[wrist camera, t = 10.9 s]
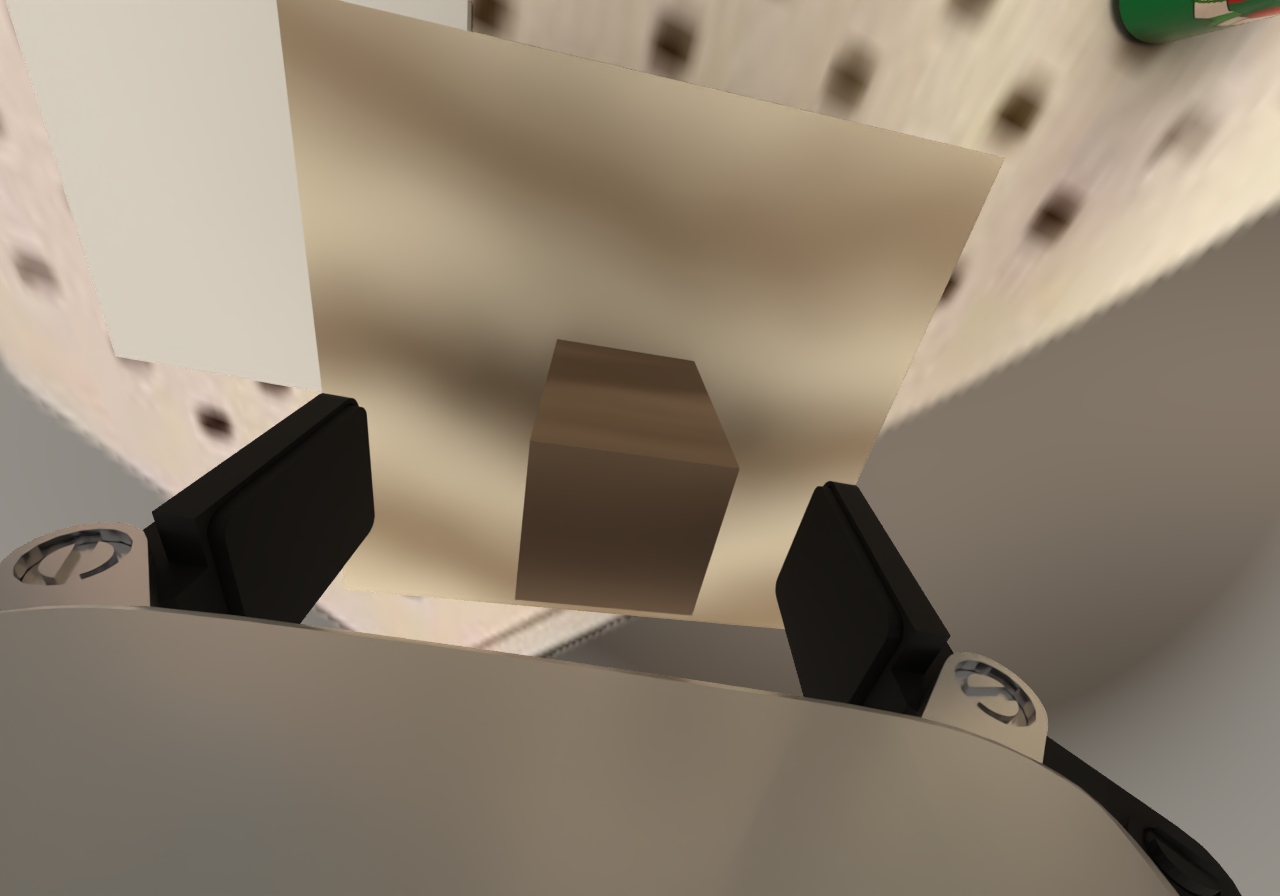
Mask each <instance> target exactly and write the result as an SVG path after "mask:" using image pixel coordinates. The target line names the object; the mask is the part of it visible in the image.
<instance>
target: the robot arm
mask: <svg viewBox="0 0 1280 896" xmlns="http://www.w3.org/2000/svg"><path fill="white" fill-rule="evenodd" d="M152 514H153V517H154V520H155V522H153V523H152V524H151V525H149V526H148V527H147V528H145V529H144V530H140V529H138V528H137V527H136V526H133V525H128V524H124V523H120V522H97V523H91V524H82V525H77V526H73V527H69V528H65V529H61V530H57V531H54V532H52V533H49V534H46V535H44V536H41V537H38V538H36V539H34V540H32V541H30V542H28V543H27V544H24V545H23V546H21V547H19V548H17V549H15V550H14V551H13V552H12V553H11V554H9V555H8V556H7V557H6V558H5V559H3V560H2V561H1V563H0V896H1241V894H1240V893H1239V891H1238V889H1237V887H1236V885H1235V884H1234V882H1233V881H1232V879H1231V878H1230V877H1229V876H1228V874H1227V873H1226V872H1225V871H1224V870H1223V868H1222V867H1221V866H1220V864H1219V863H1218V862H1217V861H1216V860H1215V859H1214V858H1213V857H1212V856H1211V855H1210V853H1208V851H1207V850H1206V849H1205V848H1203V846H1201V845H1200V844H1199V843H1198V842H1197V841H1195V840H1194V839H1193V838H1191V837H1190V836H1189V835H1188V834H1186V833H1185V832H1184V831H1182V830H1181V829H1180V828H1178V827H1177V826H1176V825H1174V824H1173V823H1172V822H1170V821H1169V820H1167V819H1166V818H1164V817H1163V816H1161V815H1160V814H1159V813H1157V812H1156V811H1154V810H1153V809H1151V808H1150V807H1148V806H1147V805H1146V804H1144V803H1143V802H1141V801H1140V800H1138V799H1137V798H1135V797H1134V796H1133V795H1131V794H1130V793H1128V792H1127V791H1125V790H1124V789H1122V788H1121V787H1120V786H1118V785H1117V784H1115V783H1114V782H1112V781H1111V780H1110V779H1108V778H1107V777H1105V776H1104V775H1102V774H1101V773H1099V772H1098V771H1097V770H1095V769H1094V768H1092V767H1091V766H1089V765H1088V764H1086V763H1085V762H1083V761H1082V760H1081V759H1079V758H1078V757H1076V756H1075V755H1073V754H1072V753H1071V752H1069V751H1068V750H1066V749H1065V748H1063V747H1062V746H1060V745H1059V744H1057V743H1056V742H1055V741H1053V740H1052V739H1050V738H1049V737H1048V736H1046V735H1047V729H1048V722H1047V714H1046V712H1045V710H1044V708H1043V705H1042V703H1041V702H1040V700H1039V699H1038V698H1037V696H1036V695H1035V694H1034V692H1032V690H1031V689H1030V688H1029V687H1028V686H1027V685H1026V684H1025V683H1024V682H1023V681H1022V680H1021V679H1020V678H1019V677H1018V676H1016V675H1015V674H1013V673H1012V672H1011V671H1009V670H1008V669H1006V668H1005V667H1004V666H1002V665H1000V664H998V663H996V662H994V661H992V660H990V659H988V658H986V657H983V656H980V655H977V654H974V653H964V652H959V653H956V654H954V653H953V652H952V650H951V648H950V647H949V645H948V644H947V640H948V639H949V637H950V634H949V633H948V631H947V629H946V628H945V626H944V625H943V623H942V621H941V620H940V618H939V616H938V615H937V613H936V612H935V610H934V608H933V607H932V605H931V604H930V602H929V601H928V599H927V597H926V596H925V594H924V592H923V591H922V589H921V587H920V586H919V584H918V583H917V581H916V580H915V578H914V576H913V575H912V573H911V571H910V570H909V568H908V567H907V565H906V564H905V562H904V560H903V559H902V557H901V555H900V554H899V552H898V551H897V549H896V547H895V546H894V544H893V543H892V541H891V539H890V538H889V536H888V535H887V533H886V531H885V530H884V528H883V526H882V525H881V523H880V522H879V520H878V518H877V517H876V515H875V514H874V512H873V510H872V509H871V507H870V506H869V504H868V502H867V501H866V499H865V498H864V496H863V494H862V493H861V491H860V489H859V488H858V487H857V486H856V485H851V484H845V483H839V482H833V481H828V482H826V483H825V484H824V486H817V487H816V488H815V490H814V492H813V494H812V496H811V499H810V501H809V504H808V506H807V508H806V511H805V513H804V516H803V518H802V520H801V523H800V525H799V527H798V530H797V532H796V535H795V537H794V539H793V542H792V544H791V547H790V549H789V551H788V554H787V556H786V559H785V561H784V563H783V566H782V568H781V571H780V573H779V575H778V578H777V581H776V586H775V594H776V599H777V602H778V606H779V610H780V613H781V617H782V620H783V624H784V628H785V631H786V634H787V638H788V642H789V645H790V649H791V653H792V656H793V660H794V663H795V667H796V671H797V674H798V678H799V681H800V685H801V689H802V692H803V696H804V697H801V696H795V695H789V694H783V693H776V692H770V691H762V690H756V689H750V688H743V687H736V686H729V685H723V684H715V683H710V682H703V681H696V680H690V679H683V678H676V677H669V676H663V675H656V674H650V673H643V672H636V671H629V670H622V669H615V668H608V667H602V666H595V665H588V664H581V663H574V662H567V661H560V660H553V659H546V658H539V657H533V656H526V655H519V654H512V653H505V652H498V651H491V650H484V649H477V648H470V647H463V646H455V645H448V644H441V643H434V642H426V641H419V640H412V639H405V638H398V637H390V636H383V635H376V634H369V633H361V632H354V631H347V630H340V629H333V628H325V627H318V626H311V625H303V624H300V623H301V622H302V620H303V619H304V618H305V617H306V615H307V614H308V613H309V611H310V610H311V609H312V607H313V606H314V605H315V603H316V602H317V601H318V600H319V598H320V597H321V596H322V594H323V593H324V592H325V590H326V589H327V588H328V586H329V585H330V584H331V583H332V581H333V580H334V579H335V577H336V576H337V575H338V573H339V572H340V571H341V569H342V568H343V567H344V566H345V564H346V563H347V562H348V560H349V559H350V558H351V556H352V555H353V554H354V552H355V551H356V550H357V549H358V547H359V546H360V545H361V543H362V542H363V541H364V539H365V538H366V537H367V535H368V534H369V533H370V531H371V529H372V527H373V524H374V519H375V510H374V497H373V485H372V472H371V460H370V447H369V434H368V422H367V413H366V410H365V408H363V407H359V405H358V403H357V401H356V400H355V399H354V398H349V397H343V396H338V395H332V394H326V393H322V394H320V395H318V396H317V397H315V398H314V399H312V400H311V401H309V402H308V403H307V404H305V405H304V406H302V407H301V408H299V409H298V410H297V411H295V412H294V413H292V414H291V415H289V416H288V417H287V418H285V419H284V420H282V421H281V422H279V423H278V424H277V425H275V426H274V427H272V428H271V429H269V430H268V431H267V432H265V433H264V434H262V435H261V436H259V437H258V438H257V439H255V440H254V441H252V442H251V443H249V444H248V445H247V446H245V447H244V448H242V449H241V450H239V451H238V452H237V453H235V454H234V455H232V456H231V457H229V458H228V459H227V460H225V461H224V462H222V463H221V464H219V465H218V466H217V467H215V468H214V469H212V470H211V471H209V472H208V473H207V474H205V475H204V476H202V477H201V478H199V479H198V480H197V481H195V482H194V483H192V484H191V485H189V486H188V487H187V488H185V489H184V490H182V491H181V492H179V493H178V494H177V495H175V496H174V497H172V498H171V499H169V500H168V501H167V502H165V503H164V504H162V505H161V506H159V507H158V508H157V509H155V510H154V511H152Z"/></svg>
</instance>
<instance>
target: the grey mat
mask: <svg viewBox="0 0 1280 896" xmlns="http://www.w3.org/2000/svg"><path fill="white" fill-rule="evenodd" d="M340 1H344V2H348V3H353V4H357V5H361V6H365V7H369V8H374V9H378V10H382V11H386V12H391V13H395V14H399V15H403V16H408V17H412V18H416V19H420V20H424V21H429V22H433V23H437V24H441V25H446V26H450V27H454V28H458V29H463V30H467V31H471V13H472V4H471V3H470V2H469V1H467V0H340ZM6 3H7V7H8V10H9V13H10V16H11V20H12V23H13V26H14V29H15V33H16V36H17V39H18V42H19V45H20V49H21V52H22V55H23V58H24V62H25V65H26V68H27V71H28V75H29V78H30V81H31V84H32V88H33V91H34V94H35V97H36V100H37V104H38V107H39V110H40V113H41V117H42V120H43V123H44V126H45V130H46V133H47V136H48V139H49V142H50V146H51V149H52V152H53V155H54V159H55V162H56V165H57V168H58V172H59V175H60V178H61V181H62V185H63V188H64V191H65V194H66V197H67V201H68V204H69V207H70V210H71V214H72V217H73V220H74V223H75V227H76V230H77V233H78V236H79V240H80V243H81V246H82V249H83V252H84V256H85V259H86V262H87V265H88V269H89V272H90V275H91V278H92V282H93V285H94V288H95V291H96V294H97V298H98V301H99V304H100V307H101V311H102V314H103V317H104V320H105V324H106V327H107V330H108V333H109V337H110V340H111V343H112V346H113V349H114V353H115V356H117V357H123V358H129V359H134V360H140V361H146V362H152V363H157V364H163V365H169V366H174V367H180V368H186V369H192V370H197V371H203V372H209V373H215V374H220V375H226V376H232V377H237V378H243V379H249V380H255V381H260V382H266V383H272V384H277V385H283V386H289V387H295V388H300V389H306V390H312V391H317V392H322V386H321V378H320V369H319V361H318V352H317V344H316V335H315V327H314V318H313V309H312V301H311V292H310V284H309V275H308V267H307V258H306V250H305V241H304V233H303V224H302V215H301V207H300V198H299V190H298V181H297V173H296V164H295V156H294V147H293V139H292V130H291V121H290V113H289V104H288V96H287V87H286V79H285V70H284V62H283V53H282V45H281V36H280V27H279V19H278V10H277V2H276V0H6Z"/></svg>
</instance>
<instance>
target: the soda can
mask: <svg viewBox="0 0 1280 896" xmlns="http://www.w3.org/2000/svg"><path fill="white" fill-rule="evenodd" d="M1119 9H1120V14H1121V18H1122V21H1123V23H1124V25H1125V27H1126V28H1127V30H1128V31H1129V32H1130V33H1131V34H1132V35H1133V36H1134V37H1135V38H1137V39H1139V40H1141V41H1143V42H1147V43H1166V42H1172V41H1176V40H1180V39H1184V38H1188V37H1192V36H1196V35H1200V34H1204V33H1208V32H1213V31H1217V30H1221V29H1225V28H1229V27H1233V26H1237V25H1241V24H1245V23H1249V22H1254V21H1258V20H1262V19H1266V18H1270V17H1274V16H1278V15H1280V0H1119Z"/></svg>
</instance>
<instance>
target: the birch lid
mask: <svg viewBox="0 0 1280 896" xmlns="http://www.w3.org/2000/svg"><path fill="white" fill-rule="evenodd" d="M276 2H277V10H278V19H279V27H280V36H281V45H282V53H283V62H284V70H285V79H286V87H287V96H288V104H289V113H290V121H291V130H292V139H293V147H294V156H295V164H296V173H297V181H298V190H299V198H300V207H301V215H302V224H303V233H304V241H305V250H306V258H307V267H308V275H309V284H310V292H311V301H312V309H313V318H314V327H315V335H316V344H317V352H318V361H319V369H320V378H321V386H322V393H326V394H332V395H338V396H343V397H349V398H354V399H355V400H356V401H357V403H358V405H359V407H363V408H365V410H366V413H367V422H368V434H369V447H370V460H371V472H372V485H373V497H374V510H375V519H374V524H373V527H372V529H371V531H370V533H369V534H368V535H367V537H366V538H365V539H364V541H363V542H362V543H361V545H360V546H359V547H358V549H357V550H356V551H355V552H354V554H353V555H352V556H351V558H350V559H349V560H348V562H347V563H346V564H345V566H344V567H343V574H344V583H345V590H356V591H367V592H378V593H389V594H400V595H412V596H423V597H434V598H445V599H456V600H467V601H478V602H489V603H500V604H512V605H523V606H534V607H545V608H556V609H567V610H578V611H589V612H600V613H612V614H623V615H634V616H645V617H656V618H667V619H679V620H690V621H701V622H713V623H723V624H734V625H745V626H757V627H768V628H778V629H785V628H784V624H783V620H782V617H781V613H780V610H779V606H778V602H777V599H776V594H775V586H776V581H777V578H778V575H779V573H780V571H781V568H782V566H783V563H784V561H785V559H786V556H787V554H788V551H789V549H790V547H791V544H792V542H793V539H794V537H795V535H796V532H797V530H798V527H799V525H800V523H801V520H802V518H803V516H804V513H805V511H806V508H807V506H808V504H809V501H810V499H811V496H812V494H813V492H814V490H815V488H816V487H817V486H824V484H825V483H826V482H828V481H833V482H839V483H845V484H851V485H855V484H856V482H857V480H858V478H859V476H860V473H861V471H862V469H863V467H864V465H865V462H866V460H867V458H868V456H869V454H870V452H871V450H872V447H873V445H874V443H875V441H876V439H877V436H878V434H879V432H880V430H881V428H882V425H883V423H884V421H885V419H886V417H887V415H888V412H889V410H890V408H891V406H892V404H893V401H894V399H895V397H896V395H897V393H898V391H899V388H900V386H901V384H902V382H903V380H904V377H905V375H906V373H907V371H908V369H909V366H910V364H911V362H912V360H913V358H914V356H915V353H916V351H917V349H918V347H919V345H920V342H921V340H922V338H923V336H924V334H925V332H926V329H927V327H928V325H929V323H930V321H931V318H932V316H933V314H934V312H935V310H936V307H937V305H938V303H939V301H940V299H941V297H942V294H943V292H944V290H945V288H946V286H947V283H948V281H949V279H950V277H951V275H952V273H953V270H954V268H955V266H956V264H957V262H958V259H959V257H960V255H961V253H962V251H963V248H964V246H965V244H966V242H967V240H968V238H969V235H970V233H971V231H972V229H973V227H974V224H975V222H976V220H977V218H978V216H979V213H980V211H981V209H982V207H983V205H984V203H985V200H986V198H987V196H988V194H989V192H990V189H991V187H992V185H993V183H994V181H995V179H996V176H997V174H998V172H999V170H1000V168H1001V165H1002V163H1003V161H1004V159H1005V158H1004V157H1000V156H995V155H991V154H987V153H983V152H979V151H974V150H970V149H966V148H962V147H957V146H953V145H949V144H945V143H940V142H936V141H932V140H928V139H924V138H919V137H915V136H911V135H907V134H902V133H898V132H894V131H890V130H885V129H881V128H877V127H873V126H869V125H864V124H860V123H856V122H852V121H847V120H843V119H839V118H835V117H831V116H826V115H822V114H818V113H814V112H809V111H805V110H801V109H797V108H792V107H788V106H784V105H780V104H776V103H771V102H767V101H763V100H759V99H754V98H750V97H746V96H742V95H737V94H733V93H729V92H725V91H721V90H716V89H712V88H708V87H704V86H699V85H695V84H691V83H687V82H682V81H678V80H674V79H670V78H666V77H661V76H657V75H653V74H649V73H644V72H640V71H636V70H632V69H627V68H623V67H619V66H615V65H611V64H606V63H602V62H598V61H594V60H589V59H585V58H581V57H577V56H573V55H568V54H564V53H560V52H556V51H551V50H547V49H543V48H539V47H534V46H530V45H526V44H522V43H518V42H513V41H509V40H505V39H501V38H496V37H492V36H488V35H484V34H479V33H475V32H471V31H467V30H463V29H458V28H454V27H450V26H446V25H441V24H437V23H433V22H429V21H424V20H420V19H416V18H412V17H408V16H403V15H399V14H395V13H391V12H386V11H382V10H378V9H374V8H369V7H365V6H361V5H357V4H353V3H348V2H344V1H340V0H276Z"/></svg>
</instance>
